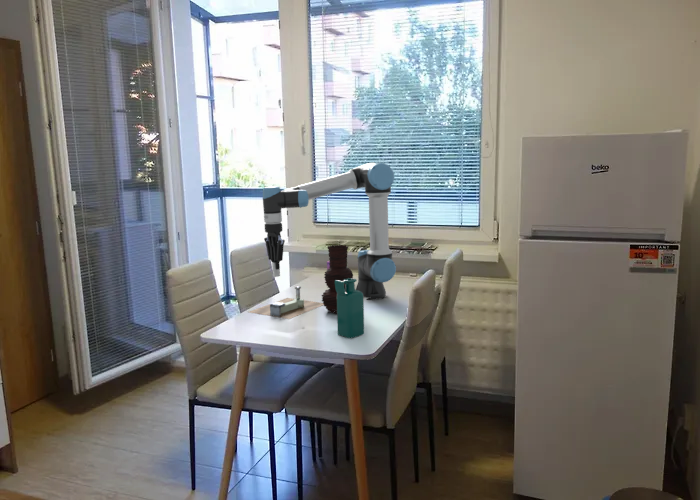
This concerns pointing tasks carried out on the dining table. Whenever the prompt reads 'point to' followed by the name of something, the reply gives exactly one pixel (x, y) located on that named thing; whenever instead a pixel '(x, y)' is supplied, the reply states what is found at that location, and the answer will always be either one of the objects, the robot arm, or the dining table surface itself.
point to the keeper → (276, 309)
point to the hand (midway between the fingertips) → (276, 276)
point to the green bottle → (349, 309)
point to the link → (292, 305)
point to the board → (289, 314)
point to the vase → (335, 275)
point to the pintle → (297, 292)
